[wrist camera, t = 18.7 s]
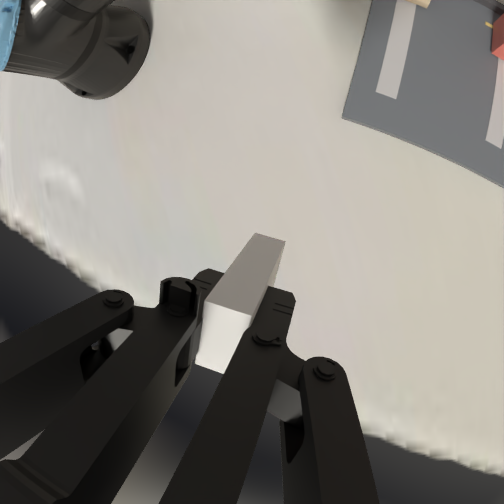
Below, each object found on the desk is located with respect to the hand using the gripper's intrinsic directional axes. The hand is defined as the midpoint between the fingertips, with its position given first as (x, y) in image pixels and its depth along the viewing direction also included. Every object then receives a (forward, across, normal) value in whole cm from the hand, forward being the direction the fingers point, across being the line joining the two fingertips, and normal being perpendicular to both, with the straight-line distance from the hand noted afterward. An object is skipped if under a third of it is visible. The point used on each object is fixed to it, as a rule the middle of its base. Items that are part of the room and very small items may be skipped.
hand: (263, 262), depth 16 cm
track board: (+24, +14, +20) cm, 34 cm away
